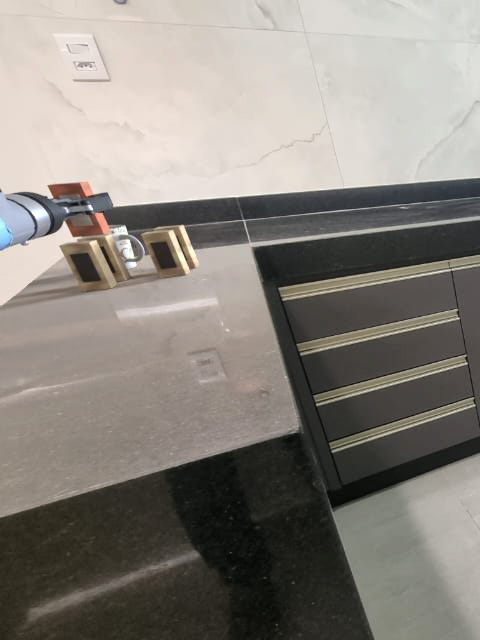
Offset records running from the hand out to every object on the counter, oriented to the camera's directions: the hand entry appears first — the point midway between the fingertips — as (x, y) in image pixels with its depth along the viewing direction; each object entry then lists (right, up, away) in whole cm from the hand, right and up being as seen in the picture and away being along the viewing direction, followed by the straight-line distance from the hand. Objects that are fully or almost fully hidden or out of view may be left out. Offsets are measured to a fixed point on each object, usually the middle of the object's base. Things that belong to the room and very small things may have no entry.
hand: (90, 200), depth 109 cm
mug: (-14, -10, +23) cm, 28 cm away
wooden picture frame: (+4, -12, +17) cm, 21 cm away
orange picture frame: (+2, -8, -2) cm, 8 cm away
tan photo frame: (-5, -16, +9) cm, 19 cm away
